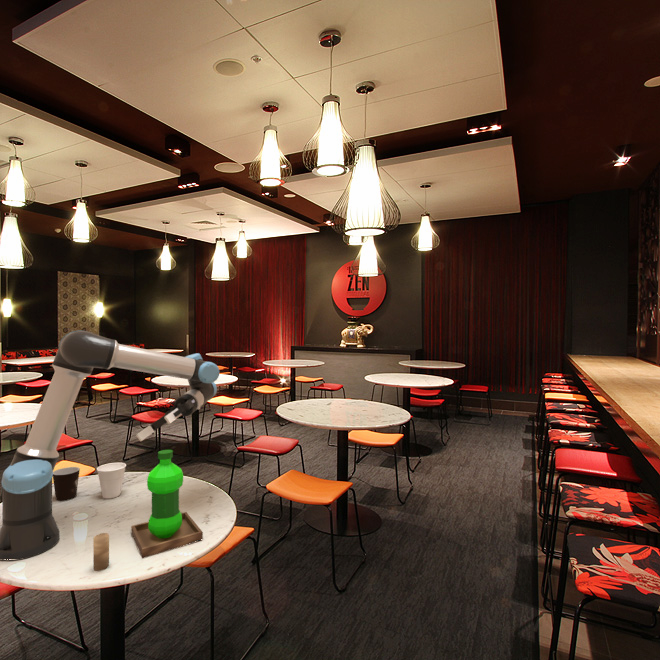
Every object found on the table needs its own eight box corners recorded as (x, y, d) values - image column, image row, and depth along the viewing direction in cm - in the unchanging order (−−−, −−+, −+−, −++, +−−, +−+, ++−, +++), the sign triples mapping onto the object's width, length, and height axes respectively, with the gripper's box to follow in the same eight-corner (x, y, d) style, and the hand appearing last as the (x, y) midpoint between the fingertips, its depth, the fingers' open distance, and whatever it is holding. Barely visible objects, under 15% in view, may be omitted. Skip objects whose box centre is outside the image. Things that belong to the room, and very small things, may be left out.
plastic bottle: (153, 526, 129) (153, 447, 129) (187, 525, 129) (187, 446, 129) (141, 543, 119) (141, 457, 119) (178, 541, 119) (178, 456, 119)
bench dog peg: (94, 572, 105) (94, 541, 105) (92, 565, 108) (92, 535, 108) (109, 567, 107) (109, 537, 107) (108, 561, 110) (108, 531, 110)
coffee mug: (66, 503, 148) (66, 475, 148) (46, 501, 150) (46, 474, 150) (91, 491, 159) (91, 465, 159) (72, 489, 161) (72, 463, 161)
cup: (118, 488, 162) (118, 460, 162) (131, 494, 156) (131, 465, 156) (91, 496, 154) (91, 467, 154) (104, 503, 148) (104, 473, 148)
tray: (142, 558, 112) (142, 549, 112) (131, 533, 126) (131, 525, 126) (202, 540, 122) (202, 531, 122) (186, 519, 135) (186, 511, 135)
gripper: (219, 396, 148) (186, 422, 128) (171, 425, 156) (133, 454, 136) (207, 379, 148) (172, 402, 128) (160, 409, 156) (120, 435, 135)
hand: (152, 429), depth 132 cm, fingers open, 13 cm apart
